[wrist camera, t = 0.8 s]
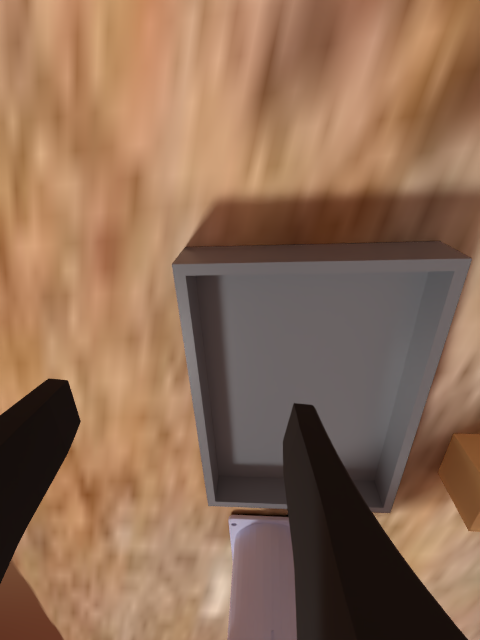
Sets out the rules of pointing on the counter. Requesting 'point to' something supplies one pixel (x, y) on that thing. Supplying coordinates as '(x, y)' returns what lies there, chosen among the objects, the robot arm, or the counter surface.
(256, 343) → the charcoal tray
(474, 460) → the ochre block
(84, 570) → the counter surface
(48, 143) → the counter surface
